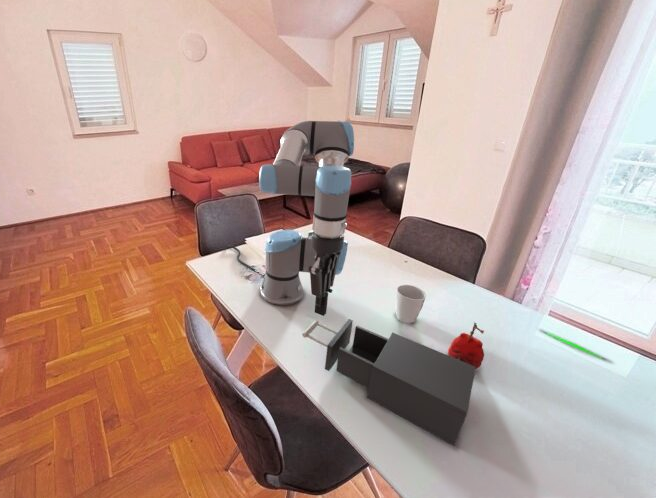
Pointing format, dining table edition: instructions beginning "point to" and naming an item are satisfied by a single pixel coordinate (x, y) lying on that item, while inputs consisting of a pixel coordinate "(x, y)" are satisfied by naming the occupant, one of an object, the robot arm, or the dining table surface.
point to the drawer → (351, 351)
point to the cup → (409, 302)
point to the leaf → (574, 345)
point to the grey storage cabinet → (422, 386)
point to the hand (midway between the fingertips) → (320, 312)
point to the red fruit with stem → (467, 348)
